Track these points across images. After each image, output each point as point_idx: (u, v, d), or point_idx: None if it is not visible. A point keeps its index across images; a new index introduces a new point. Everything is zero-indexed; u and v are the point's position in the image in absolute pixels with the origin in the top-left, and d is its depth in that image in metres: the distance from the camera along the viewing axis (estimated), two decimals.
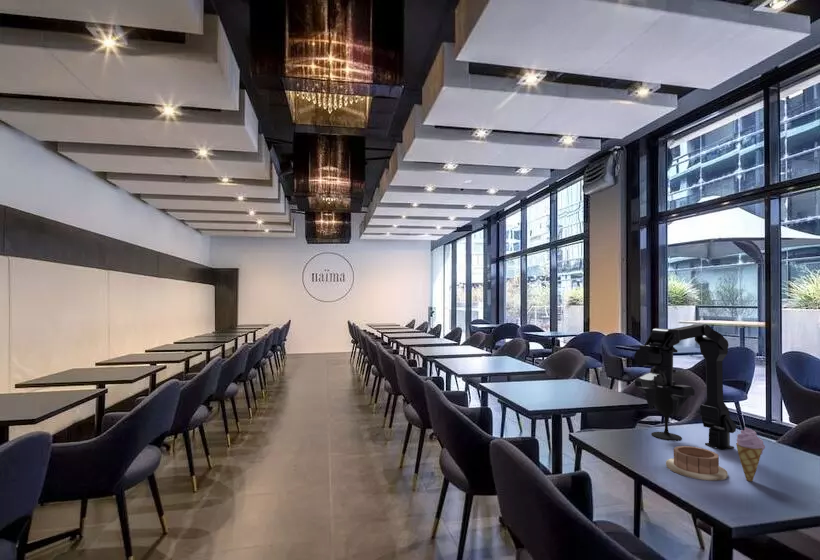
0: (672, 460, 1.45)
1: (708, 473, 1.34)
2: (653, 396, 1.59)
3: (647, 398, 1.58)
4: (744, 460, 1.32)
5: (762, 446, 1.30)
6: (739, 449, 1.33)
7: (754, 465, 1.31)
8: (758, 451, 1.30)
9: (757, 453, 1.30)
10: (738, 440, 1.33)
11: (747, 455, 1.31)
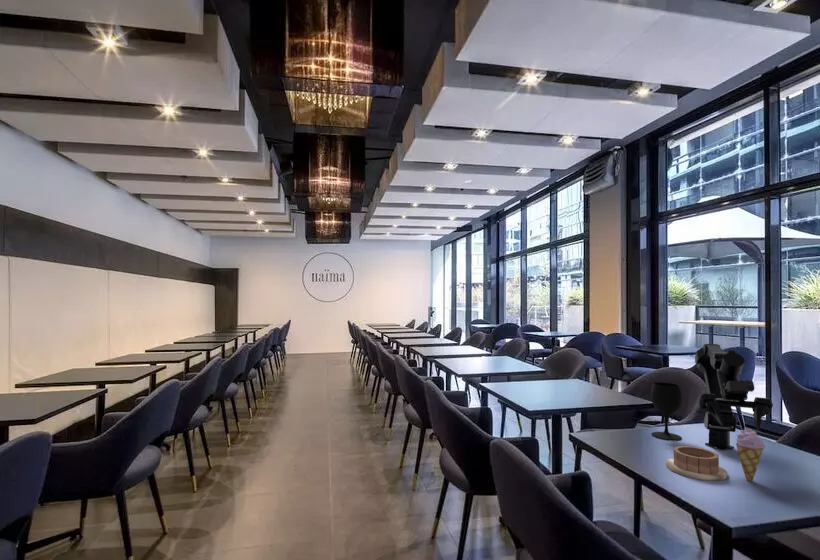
0: (672, 460, 1.45)
1: (708, 473, 1.34)
2: None
3: (719, 413, 1.44)
4: (744, 460, 1.32)
5: (762, 446, 1.30)
6: (739, 449, 1.33)
7: (754, 465, 1.31)
8: (758, 451, 1.30)
9: (757, 453, 1.30)
10: (738, 440, 1.33)
11: (747, 455, 1.31)
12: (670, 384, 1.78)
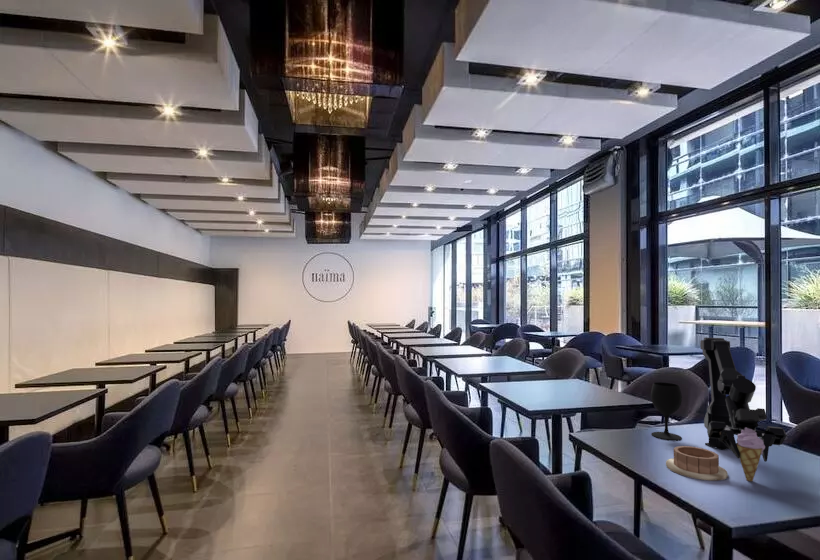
0: (672, 460, 1.45)
1: (708, 473, 1.34)
2: None
3: (734, 444, 1.34)
4: (744, 460, 1.32)
5: (762, 446, 1.30)
6: (739, 449, 1.33)
7: (754, 465, 1.31)
8: (758, 451, 1.30)
9: (757, 453, 1.30)
10: (738, 440, 1.33)
11: (747, 455, 1.31)
12: (670, 384, 1.78)
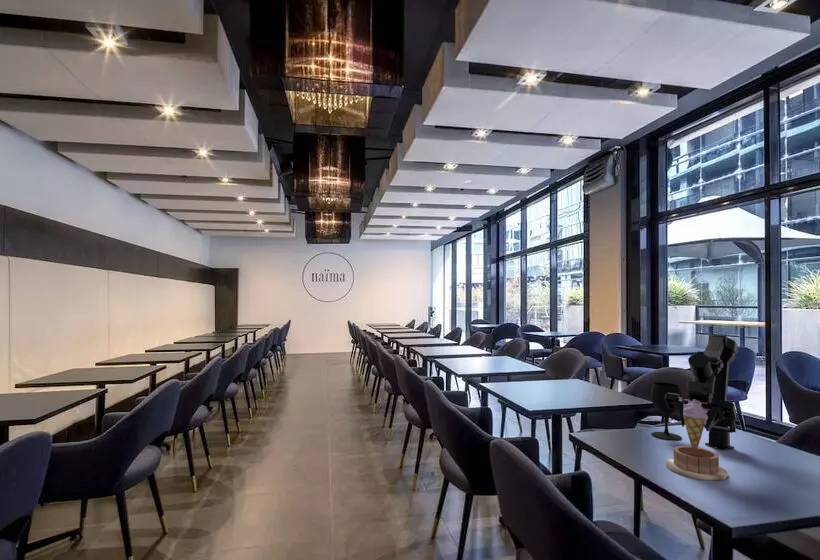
0: (672, 460, 1.45)
1: (708, 473, 1.34)
2: None
3: (682, 413, 1.43)
4: (687, 428, 1.41)
5: (703, 416, 1.38)
6: (684, 418, 1.42)
7: (695, 434, 1.39)
8: (698, 420, 1.38)
9: (697, 422, 1.38)
10: None
11: (688, 423, 1.40)
12: (670, 384, 1.78)
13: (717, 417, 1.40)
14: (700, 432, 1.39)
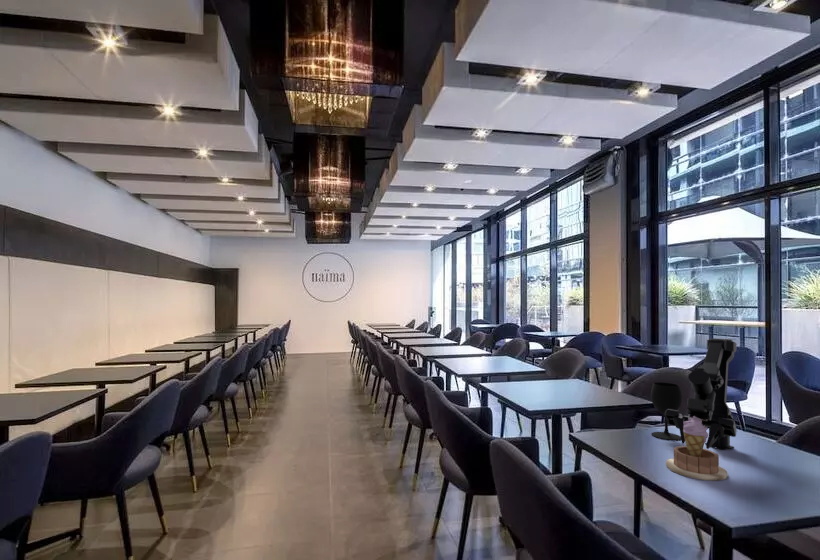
0: (672, 460, 1.45)
1: (708, 473, 1.34)
2: None
3: (682, 430, 1.43)
4: (687, 446, 1.40)
5: (703, 434, 1.38)
6: (684, 435, 1.42)
7: (695, 451, 1.39)
8: (698, 438, 1.38)
9: (697, 440, 1.38)
10: None
11: (688, 441, 1.40)
12: (670, 384, 1.78)
13: (717, 434, 1.40)
14: (700, 450, 1.38)
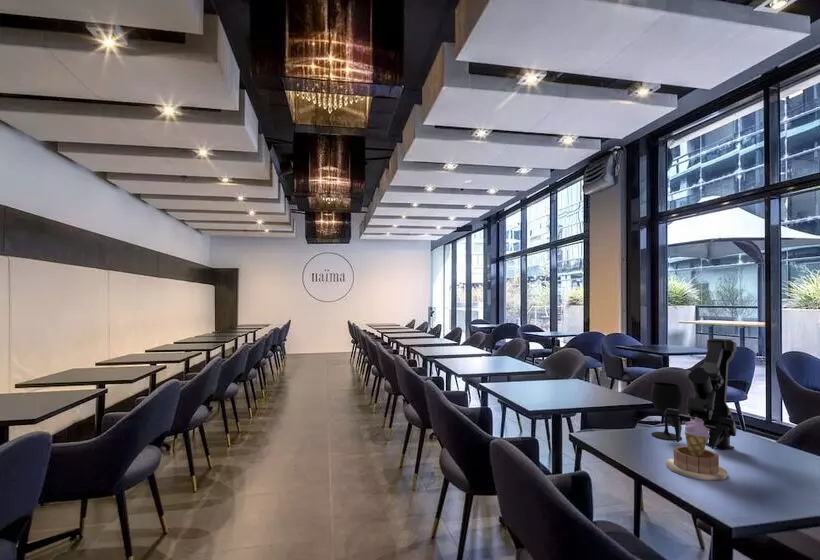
0: (672, 460, 1.45)
1: (708, 473, 1.34)
2: (680, 432, 1.45)
3: (677, 429, 1.44)
4: (688, 446, 1.40)
5: (705, 435, 1.37)
6: None
7: (696, 452, 1.39)
8: (700, 439, 1.38)
9: (699, 441, 1.38)
10: (685, 427, 1.42)
11: (689, 441, 1.39)
12: (670, 384, 1.78)
13: (722, 435, 1.39)
14: (701, 450, 1.38)
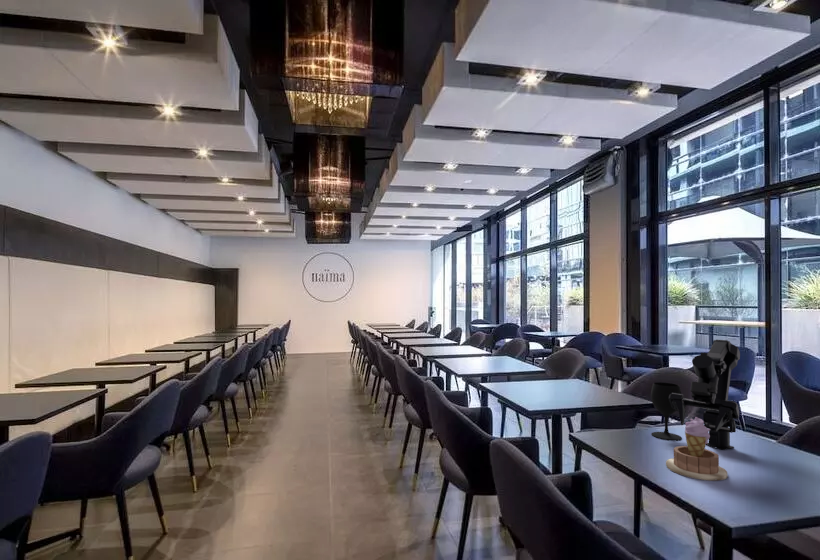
0: (672, 460, 1.45)
1: (708, 473, 1.34)
2: (684, 415, 1.49)
3: (681, 412, 1.48)
4: (688, 446, 1.40)
5: (705, 435, 1.37)
6: None
7: (696, 452, 1.39)
8: (700, 439, 1.38)
9: (699, 441, 1.38)
10: (685, 427, 1.42)
11: (689, 441, 1.39)
12: (670, 384, 1.78)
13: (725, 417, 1.42)
14: (701, 450, 1.38)
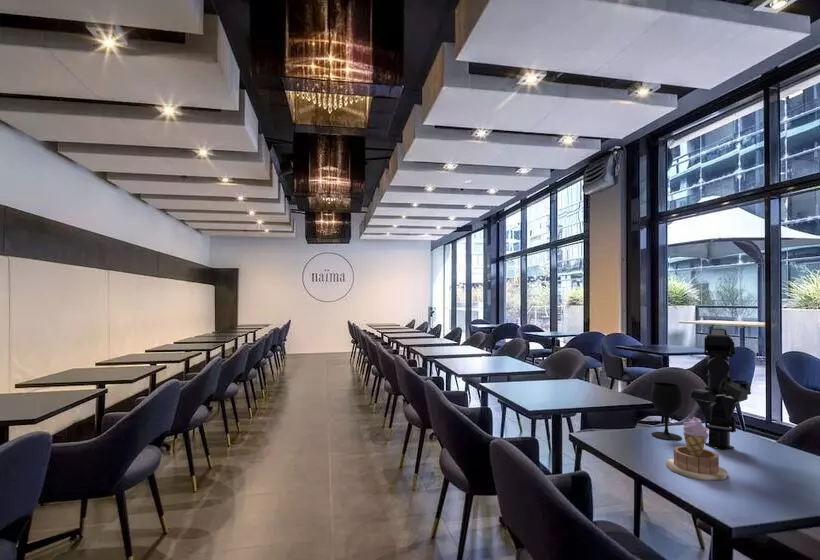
0: (672, 460, 1.45)
1: (708, 473, 1.34)
2: None
3: (711, 411, 1.47)
4: (687, 446, 1.40)
5: (703, 434, 1.38)
6: (684, 436, 1.42)
7: (695, 452, 1.39)
8: (698, 438, 1.38)
9: (697, 440, 1.38)
10: (683, 427, 1.42)
11: (688, 441, 1.40)
12: (670, 384, 1.78)
13: None
14: (700, 450, 1.38)
